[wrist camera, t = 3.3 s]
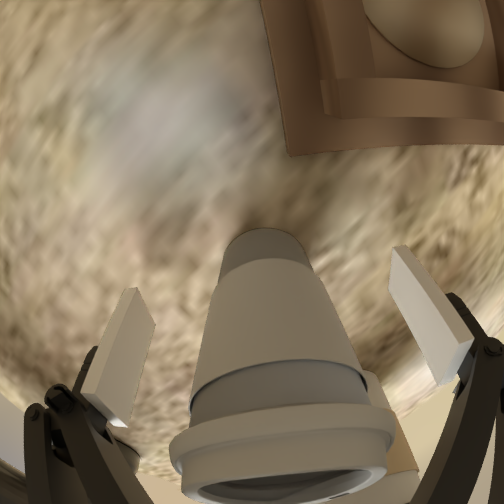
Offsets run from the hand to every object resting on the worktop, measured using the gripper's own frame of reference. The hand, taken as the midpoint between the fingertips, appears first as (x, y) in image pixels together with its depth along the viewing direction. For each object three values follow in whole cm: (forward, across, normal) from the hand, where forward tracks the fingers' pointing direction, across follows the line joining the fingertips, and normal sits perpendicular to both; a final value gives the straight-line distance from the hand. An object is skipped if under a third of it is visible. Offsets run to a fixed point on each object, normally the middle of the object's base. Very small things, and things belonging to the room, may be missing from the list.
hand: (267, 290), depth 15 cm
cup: (+2, 0, 0) cm, 2 cm away
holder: (+2, +10, +14) cm, 17 cm away
